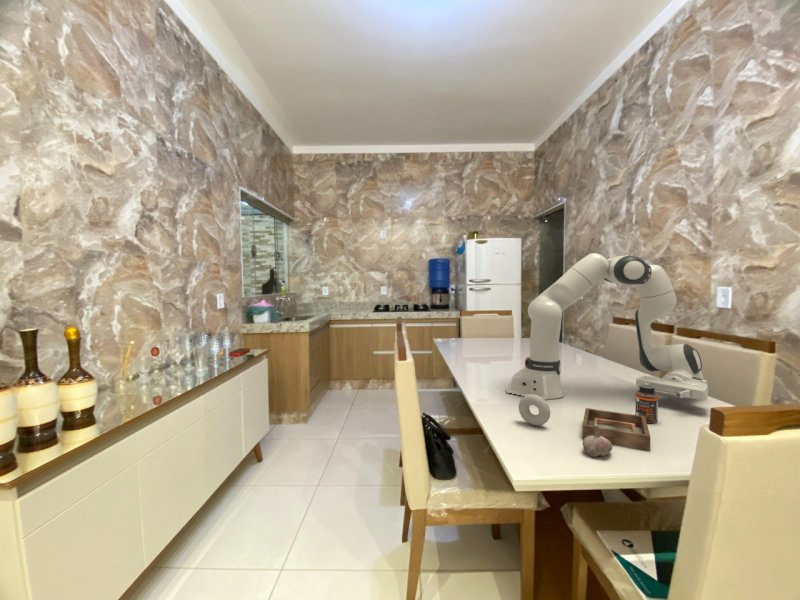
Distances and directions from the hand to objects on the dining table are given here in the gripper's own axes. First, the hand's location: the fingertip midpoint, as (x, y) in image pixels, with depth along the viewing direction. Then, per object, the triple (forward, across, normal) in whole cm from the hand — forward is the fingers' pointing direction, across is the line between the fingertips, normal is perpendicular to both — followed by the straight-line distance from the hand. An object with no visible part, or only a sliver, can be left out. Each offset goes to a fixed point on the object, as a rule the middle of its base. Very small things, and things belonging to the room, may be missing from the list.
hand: (662, 391), depth 119 cm
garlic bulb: (+46, +1, +7) cm, 47 cm away
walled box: (+30, -2, +7) cm, 31 cm away
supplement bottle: (+12, 0, +7) cm, 14 cm away
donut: (+43, -20, +7) cm, 48 cm away
